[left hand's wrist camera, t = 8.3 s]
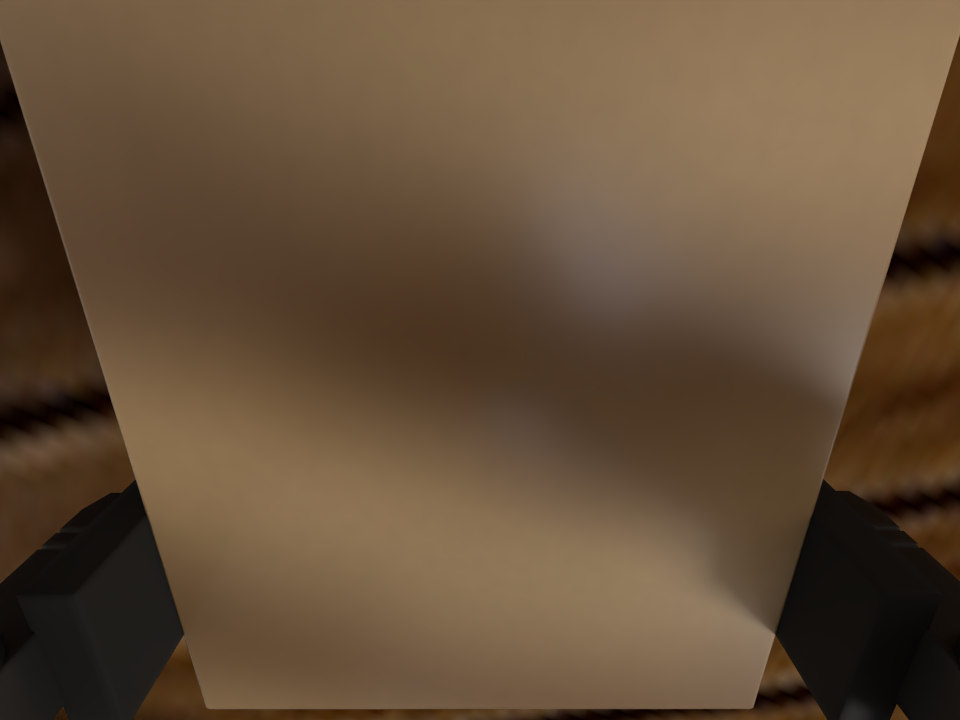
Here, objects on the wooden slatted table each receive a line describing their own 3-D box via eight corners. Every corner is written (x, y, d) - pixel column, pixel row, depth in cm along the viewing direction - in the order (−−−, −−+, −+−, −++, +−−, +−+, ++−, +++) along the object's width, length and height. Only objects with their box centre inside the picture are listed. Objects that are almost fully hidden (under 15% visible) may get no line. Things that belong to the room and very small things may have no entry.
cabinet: (225, -167, 11) (-241, -724, 4) (733, -168, 11) (1199, -728, 4) (318, 474, 17) (204, 711, 10) (641, 473, 17) (754, 710, 10)
